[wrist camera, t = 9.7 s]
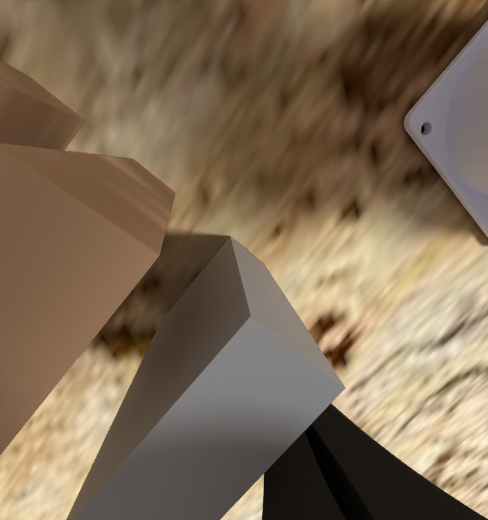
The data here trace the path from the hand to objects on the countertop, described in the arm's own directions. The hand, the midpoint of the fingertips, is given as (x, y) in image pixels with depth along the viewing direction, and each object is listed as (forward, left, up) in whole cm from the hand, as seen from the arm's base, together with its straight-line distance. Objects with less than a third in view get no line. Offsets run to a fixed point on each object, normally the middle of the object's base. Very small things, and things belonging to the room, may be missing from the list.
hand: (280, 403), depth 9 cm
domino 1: (+7, 0, -6) cm, 9 cm away
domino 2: (+2, 0, -6) cm, 6 cm away
